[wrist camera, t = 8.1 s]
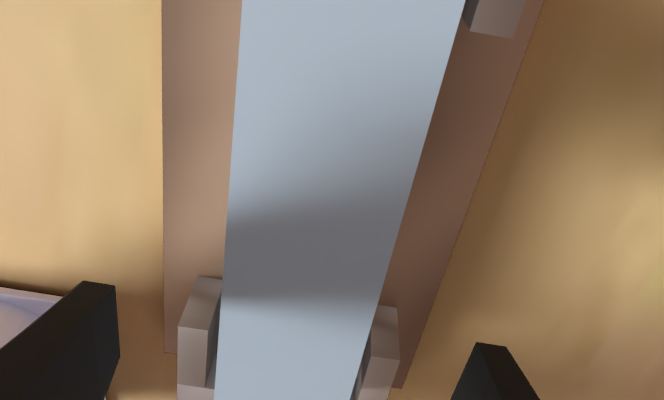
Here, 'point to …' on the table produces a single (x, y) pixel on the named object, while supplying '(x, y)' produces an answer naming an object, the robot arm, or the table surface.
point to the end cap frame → (420, 212)
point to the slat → (320, 183)
